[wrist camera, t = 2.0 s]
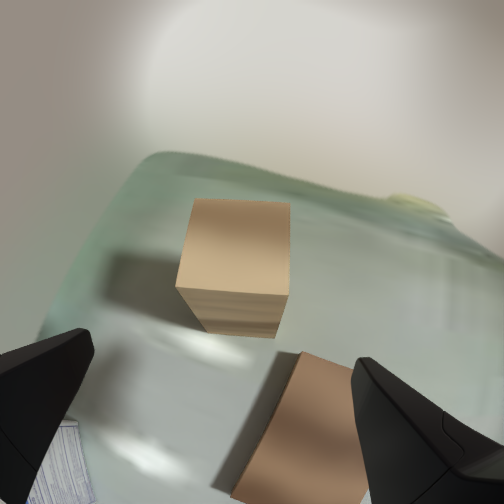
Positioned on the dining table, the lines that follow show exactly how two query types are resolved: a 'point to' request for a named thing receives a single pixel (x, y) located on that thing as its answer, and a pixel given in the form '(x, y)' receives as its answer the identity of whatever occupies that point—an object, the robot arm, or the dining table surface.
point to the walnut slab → (308, 442)
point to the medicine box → (63, 471)
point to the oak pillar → (236, 266)
